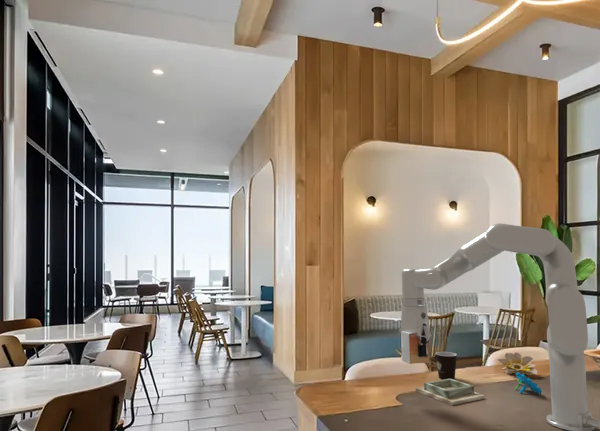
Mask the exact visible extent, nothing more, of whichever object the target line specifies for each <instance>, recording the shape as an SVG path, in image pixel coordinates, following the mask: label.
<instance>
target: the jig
mask: <svg viewBox="0 0 600 431" xmlns="http://www.w3.org/2000/svg"><path fill="white" fill-rule="evenodd" d="M415 392H417V393H419V394H421V395H423V396H426V397H427V396H428V397H429V398H432V399H435V400H437V401H439V402H442V403H444V404H448V405H450V406H455V405H460V404H465V403H470V402H474V401H480V400H485V395H484V394H481V393H479V392H476V391H475V385H472V384H469V383H465V382H462V381H460V380H456V379H454V380H453V379H444V380H442V379H440V380H433V381H427V382H424V383H423V386H420V387H419V386H417V387H415Z"/></svg>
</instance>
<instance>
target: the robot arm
mask: <svg viewBox="0 0 600 431" xmlns="http://www.w3.org/2000/svg"><path fill="white" fill-rule="evenodd" d="M504 251H506V252H510V253H518V254H523V255H530V256H535V257H538V258H539V259H540V260H541V262H542V264H543V270H544V278H545V279H544V281H545V302H546V305H547V311H548V323H549V324H548V327H547V329H546V340H547V349H548V350H547V351H548V363H549V381H550V385H549V386H550V398H551V400H550V402H551V413H550V414H547V415H546V421H547V423H548V424H550V425H551V426H553V427H556V428H558V429H562V430H565V431H595V430H596V429H598V430H600V419H598V418H594V417H593V412H592V411H589V406H588V405H589V404H588V389H587V373H586V372H587V371H586V359H585V351H586V349H587V347H588V344H589V332H588V322H587V321H588V319H587V309H586V308H587V307H586V302H585V298H584V295H583V294H582V293H581V292H580V291H579V289H578V281H577V272H576V264H575V260H574V257H573V254H572V252H571V250H570V249H569V247H568V246H567V245H566V244H565V243H564V242H563V241H562V239H561V240H560V239H559V238H558V237H555V236H554V233H552V232H551V231H549V230H548V229H544V228H539V227H533V226H532V227H531V226H523V225H514V224H507V223H495V224H493V225H491V226H489V227H488V229H487V230H486V231H484V232H483V233H481V234H479V235H478V236H476V237H474V238H473V239H471V240H470V241H468V242H467V243H465V244H463V245H462V246H460V247H459V248H458V249H457V250H456V252H454V254H452V255H451V256H450V257H448V258H446V259H445V260H444V261H442V262H440V263H439V264H437V265H436V266H433V267H429V268H422V269H421V268H403V269H402V270H401V288H402V289H401V290H402V291H401V292H402V293H401V294H402V295H401V296H402V298H401V299H402V306H401V318H400V327H399V328H398V331H399V333H400V334H401V331H406V332H412V333H415V336H416V337H417V338H418V342H419V345H418V356H419V357H424V356H426V355H427V354H426V345H427V343H428V341H430V339H431V338H432V336H433V335H432V334H431V331H430V324H429V323H430V322H429V315H428V311H427V308H426V307H425V304H426V302H425V292H424V290H431V291H432V290H438V289H442V288H443V287H445V286H446V285H448V284H450V283H451V282H453V281H454V280H456V279H458V278H459V277H461V276H463V275H465V274H466V273H468V272H471V271H473V270H475V269H476V268H477V267H480V266H481V265H483V264H485V263H486V262H489V261H490V260H491V259H492V258H495V257H496V256H497V255H499V254H501V253H502V252H504ZM421 334H423V335H421ZM425 335H426V336H425ZM421 338H423V340H421Z"/></svg>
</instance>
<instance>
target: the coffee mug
mask: <svg viewBox="0 0 600 431" xmlns="http://www.w3.org/2000/svg"><path fill="white" fill-rule="evenodd" d="M434 361H435V363H436V367H437V374H438V375H437V376H438V378H439V379H440V380H444V379H453V380H456V379H455V378H456V368H457V353H455V352H451V351H437V352H435V355H434Z"/></svg>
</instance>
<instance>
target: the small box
mask: <svg viewBox="0 0 600 431" xmlns="http://www.w3.org/2000/svg"><path fill="white" fill-rule="evenodd" d="M421 335H423V334H421ZM400 336H401V339H400V340H401V361H402V362H404V363H407V364H410V365H412V364H413V365H414V364H429V363H430V343H429V341H430V340H429V341H428V343H427V345H426V354H427V355H426V356H424V357H419V356H418V345H419V342H418V338H417V337H416V336H415V333H412V332H406V331H401V333H400ZM425 336H426V335H425ZM421 340H423V338H421Z"/></svg>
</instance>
